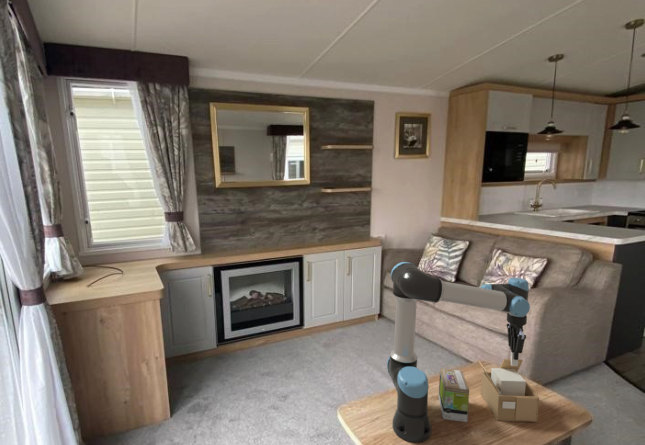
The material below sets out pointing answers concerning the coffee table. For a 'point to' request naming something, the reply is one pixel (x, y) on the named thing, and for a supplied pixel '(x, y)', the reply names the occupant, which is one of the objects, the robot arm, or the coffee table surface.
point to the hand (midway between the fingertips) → (514, 365)
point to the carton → (509, 396)
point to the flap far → (507, 365)
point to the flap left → (488, 376)
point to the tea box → (453, 395)
